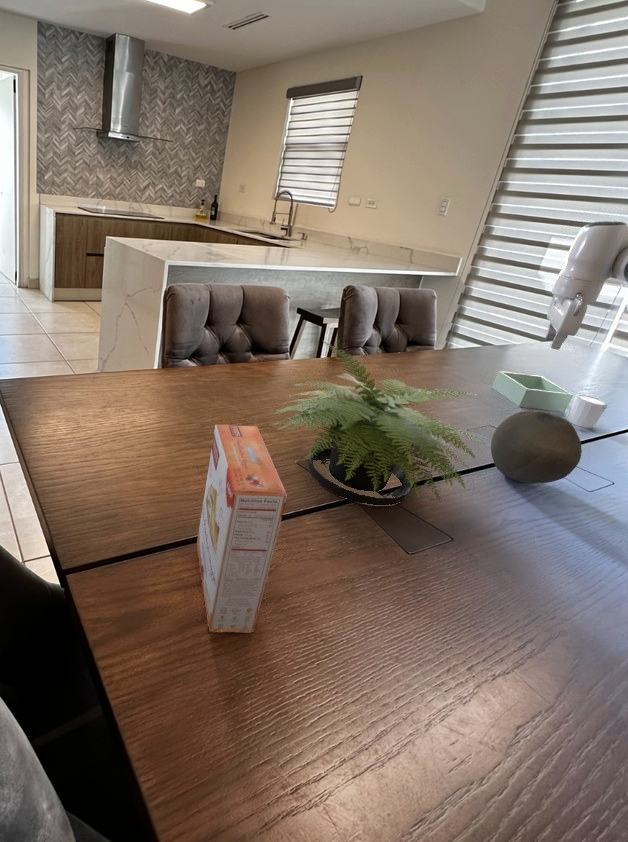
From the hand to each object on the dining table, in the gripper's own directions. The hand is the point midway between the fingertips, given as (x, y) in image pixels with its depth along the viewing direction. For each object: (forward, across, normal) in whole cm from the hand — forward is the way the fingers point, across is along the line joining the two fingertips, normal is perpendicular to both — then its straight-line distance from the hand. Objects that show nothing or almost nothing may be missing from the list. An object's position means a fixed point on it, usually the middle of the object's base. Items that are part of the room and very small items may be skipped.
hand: (551, 344), depth 119 cm
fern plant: (+20, -62, +31) cm, 73 cm away
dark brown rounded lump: (+20, -40, +3) cm, 45 cm away
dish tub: (+20, +15, -3) cm, 26 cm away
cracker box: (+20, -102, +41) cm, 112 cm away
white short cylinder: (+20, +7, -14) cm, 26 cm away
